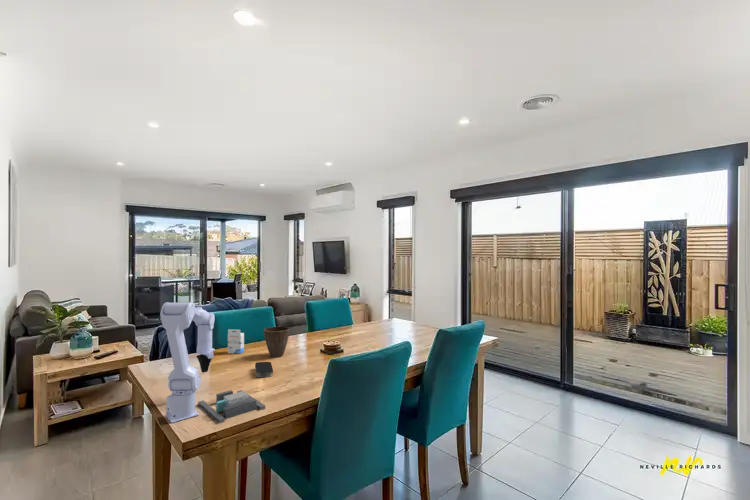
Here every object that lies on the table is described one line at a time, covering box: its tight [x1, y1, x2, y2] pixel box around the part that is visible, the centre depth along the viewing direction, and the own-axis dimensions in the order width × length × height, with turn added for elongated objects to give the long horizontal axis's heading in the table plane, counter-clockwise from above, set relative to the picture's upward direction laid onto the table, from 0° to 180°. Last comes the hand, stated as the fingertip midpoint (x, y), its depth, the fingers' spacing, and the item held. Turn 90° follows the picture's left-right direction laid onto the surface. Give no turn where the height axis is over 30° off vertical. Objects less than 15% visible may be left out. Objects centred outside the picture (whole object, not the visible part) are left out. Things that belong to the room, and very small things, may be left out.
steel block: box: [224, 390, 250, 408], centre depth 141 cm, size 8×5×6 cm, turn 134°
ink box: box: [227, 328, 245, 354], centre depth 223 cm, size 8×5×15 cm, turn 85°
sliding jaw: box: [215, 389, 234, 413], centre depth 147 cm, size 12×10×4 cm
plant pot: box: [263, 326, 290, 358], centre depth 217 cm, size 15×15×16 cm
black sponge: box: [254, 361, 274, 378], centre depth 186 cm, size 16×8×4 cm, turn 21°
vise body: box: [197, 389, 266, 424], centre depth 145 cm, size 18×22×4 cm
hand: (204, 371), depth 155 cm, fingers closed
